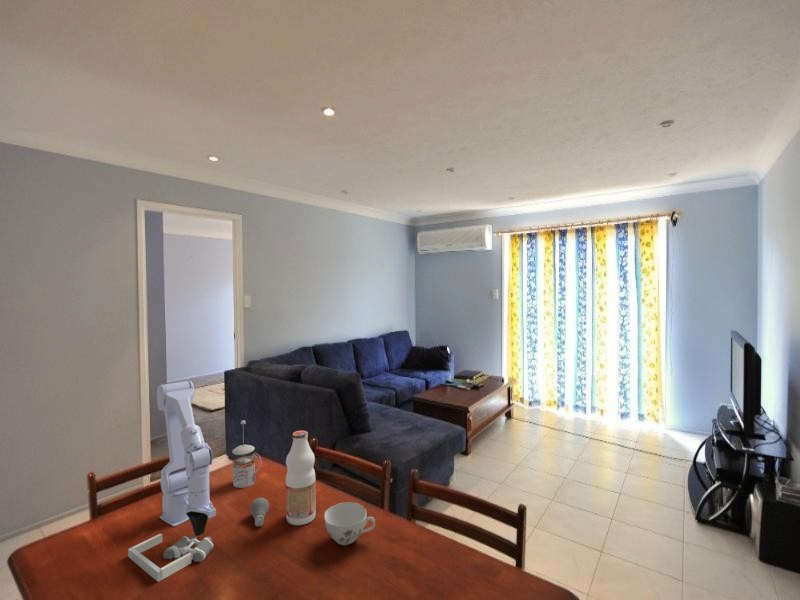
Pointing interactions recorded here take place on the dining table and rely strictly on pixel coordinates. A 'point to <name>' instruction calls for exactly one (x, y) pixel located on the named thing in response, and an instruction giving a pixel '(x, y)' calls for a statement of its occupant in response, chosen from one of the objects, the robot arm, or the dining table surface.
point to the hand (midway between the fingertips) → (199, 533)
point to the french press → (238, 477)
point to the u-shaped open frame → (150, 567)
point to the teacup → (347, 522)
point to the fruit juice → (300, 481)
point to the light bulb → (259, 510)
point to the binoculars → (184, 547)
